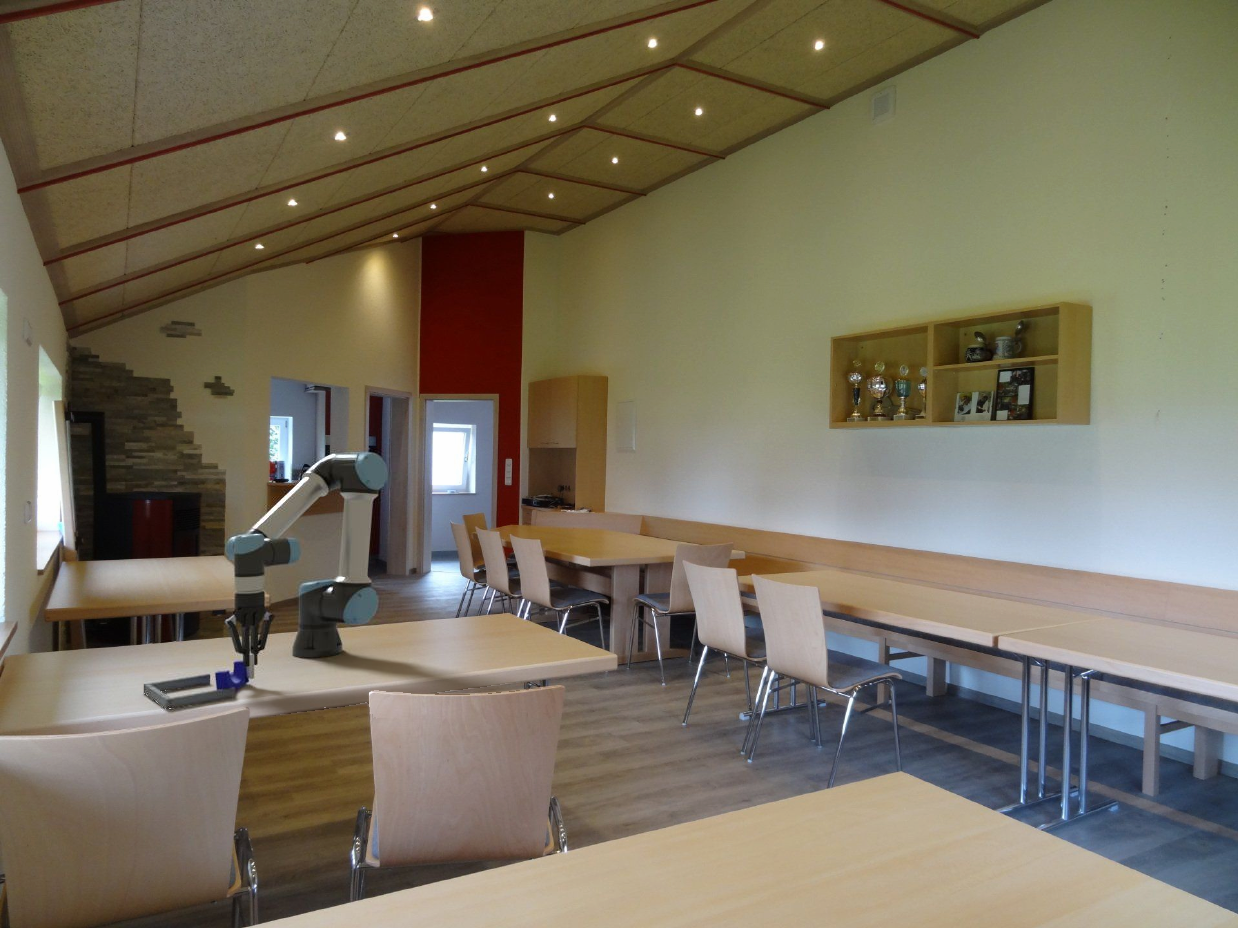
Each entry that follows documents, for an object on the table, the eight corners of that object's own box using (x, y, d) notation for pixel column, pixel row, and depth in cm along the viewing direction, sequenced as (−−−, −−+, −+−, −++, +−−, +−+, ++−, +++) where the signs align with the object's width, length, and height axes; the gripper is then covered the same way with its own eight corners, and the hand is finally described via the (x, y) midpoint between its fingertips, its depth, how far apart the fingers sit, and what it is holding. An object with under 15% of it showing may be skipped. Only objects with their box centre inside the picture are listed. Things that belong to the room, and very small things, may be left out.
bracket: (208, 682, 225) (208, 673, 225) (234, 697, 211) (235, 687, 211) (143, 693, 214) (143, 684, 214) (166, 709, 200) (167, 699, 200)
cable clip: (232, 682, 225) (230, 661, 225) (249, 681, 225) (247, 659, 225) (211, 696, 213) (209, 673, 213) (228, 694, 213) (226, 671, 213)
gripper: (267, 587, 230) (267, 671, 230) (220, 592, 221) (221, 679, 221) (278, 589, 225) (279, 675, 225) (231, 595, 216) (231, 684, 216)
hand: (250, 677), depth 223 cm, fingers closed
